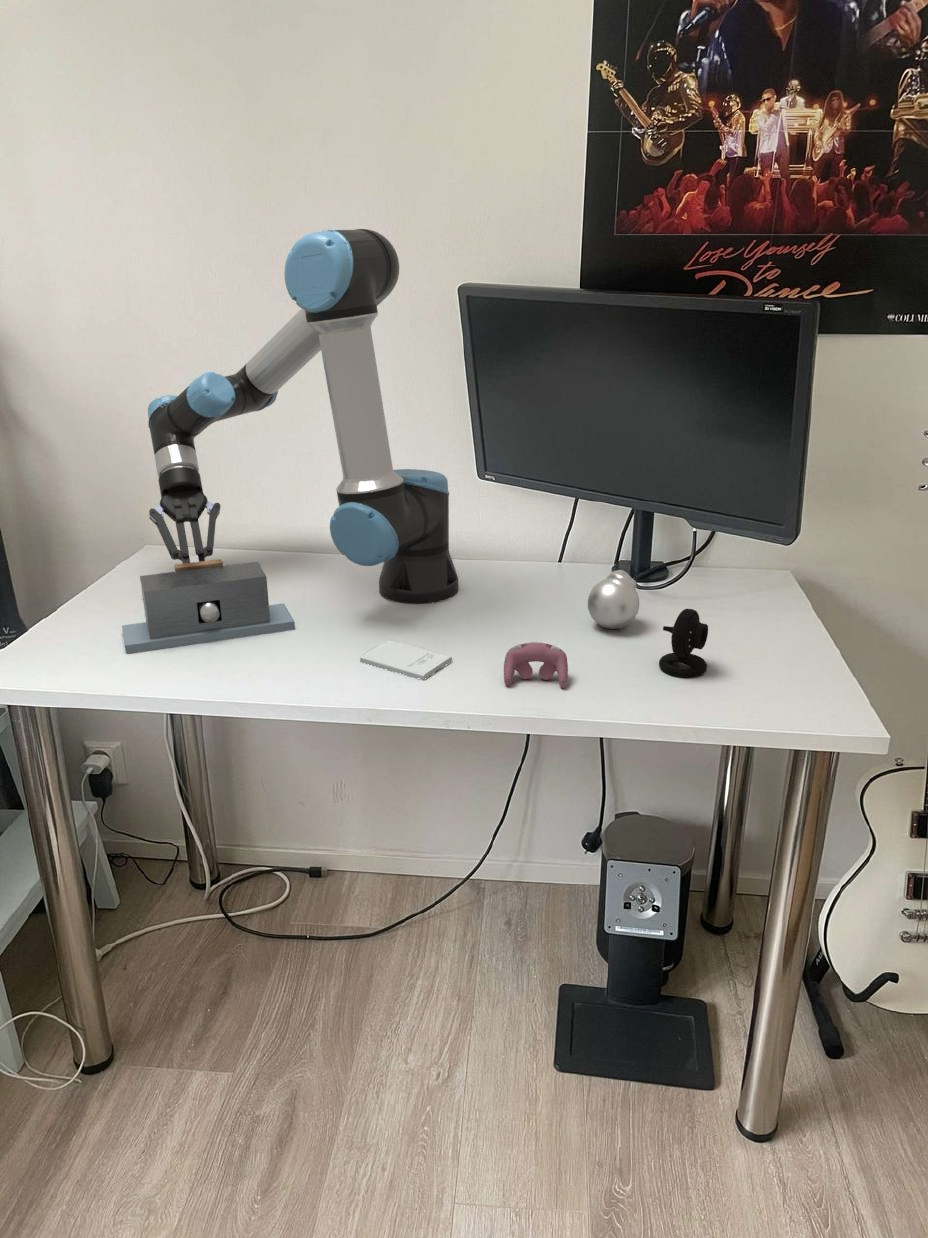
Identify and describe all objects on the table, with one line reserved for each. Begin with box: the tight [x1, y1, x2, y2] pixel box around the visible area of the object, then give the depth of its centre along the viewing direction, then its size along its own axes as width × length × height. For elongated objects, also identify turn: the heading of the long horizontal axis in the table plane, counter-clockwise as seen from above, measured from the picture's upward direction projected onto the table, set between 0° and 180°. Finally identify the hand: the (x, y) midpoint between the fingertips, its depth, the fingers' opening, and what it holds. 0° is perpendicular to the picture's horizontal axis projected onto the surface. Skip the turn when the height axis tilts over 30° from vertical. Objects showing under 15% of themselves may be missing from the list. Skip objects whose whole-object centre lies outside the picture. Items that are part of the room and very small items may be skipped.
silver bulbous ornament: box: [587, 569, 640, 630], centre depth 174 cm, size 9×10×10 cm
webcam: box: [658, 608, 709, 679], centre depth 158 cm, size 8×8×10 cm
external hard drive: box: [359, 639, 453, 681], centre depth 163 cm, size 2×8×12 cm
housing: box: [121, 561, 296, 655], centre depth 173 cm, size 28×9×10 cm, turn 111°
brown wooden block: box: [174, 558, 224, 623], centre depth 173 cm, size 8×12×10 cm
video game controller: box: [503, 642, 569, 689], centre depth 156 cm, size 10×5×7 cm, turn 85°
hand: (199, 591), depth 179 cm, fingers closed
